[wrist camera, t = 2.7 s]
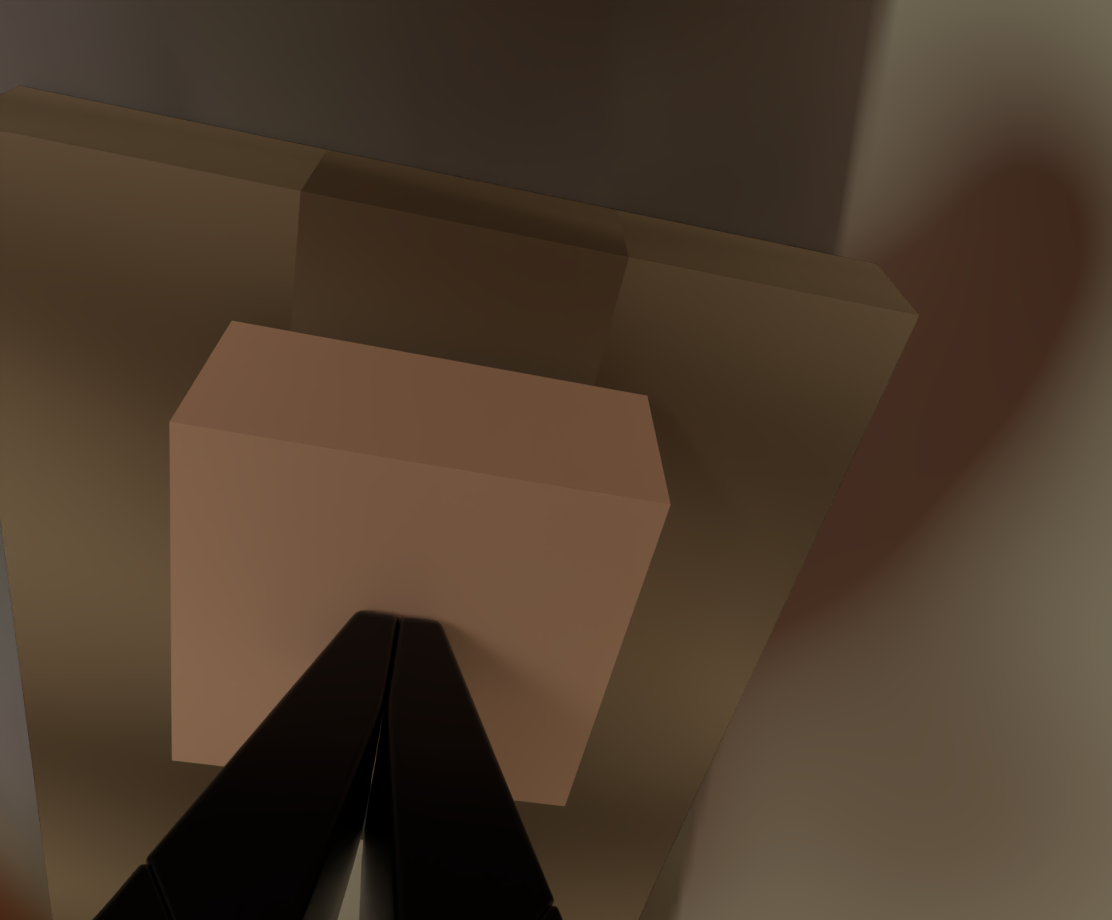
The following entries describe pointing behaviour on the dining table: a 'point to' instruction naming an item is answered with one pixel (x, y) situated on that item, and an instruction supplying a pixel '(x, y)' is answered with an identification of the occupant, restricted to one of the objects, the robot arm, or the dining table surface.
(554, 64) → the dining table surface
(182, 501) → the salmon tan cube
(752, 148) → the dining table surface
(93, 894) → the walnut panel
